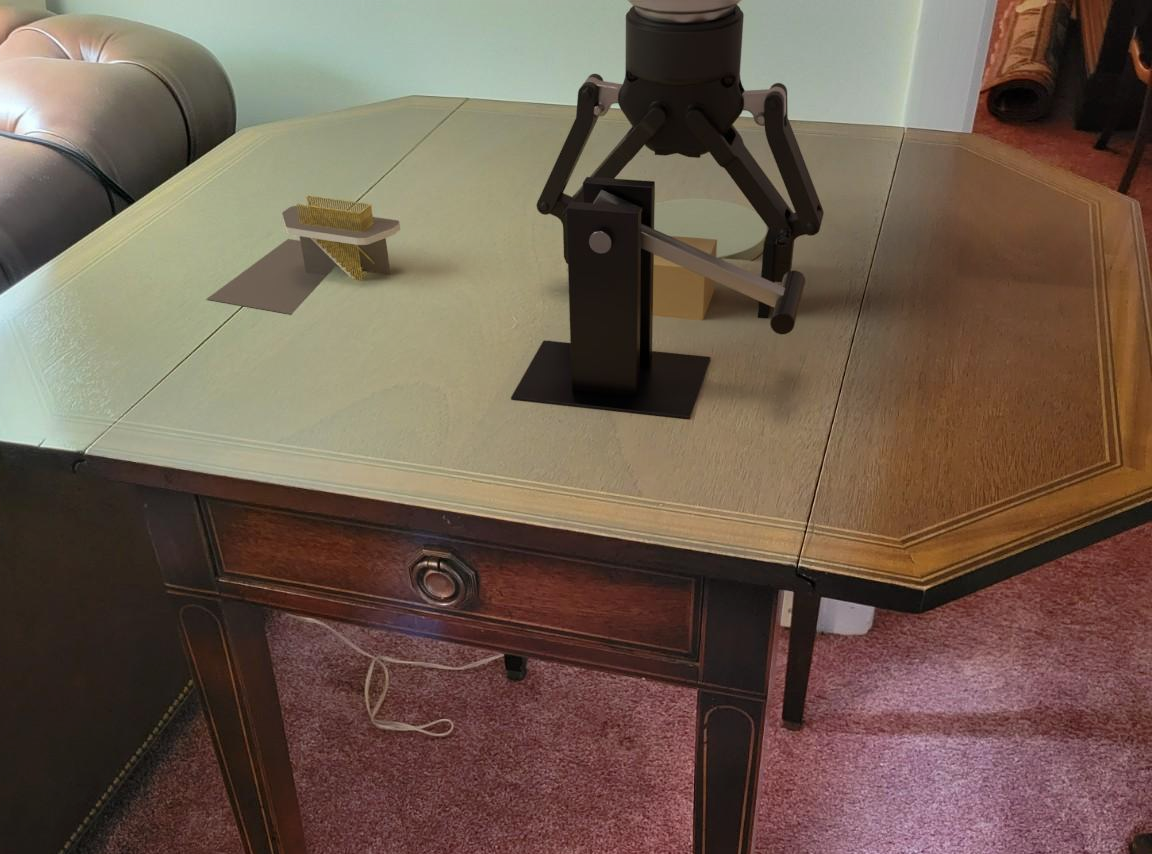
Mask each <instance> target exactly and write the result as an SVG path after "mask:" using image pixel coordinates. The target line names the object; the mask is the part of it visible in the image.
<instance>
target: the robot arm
mask: <svg viewBox="0 0 1152 854" xmlns="http://www.w3.org/2000/svg"><path fill="white" fill-rule="evenodd" d="M627 1H628V3H629V4H631V7H630V8H629V10H628V11H627V13H626V15H625V67H624V68H625V74H624V78H623V79H624V80H623V82H622V83H617V82H612V81H605V80H604V78H603V77H602V76H601V74H598V73H592V74H589V75H588V77H587V78H586V79H585V81H584V82H583V83H582V85H581V86H580V87H579V89H578V92H577V100H576V101H577V103H576V115H575V119H574V121H573V124H572V126H571V127H570V129H569V132H568V134H567V136H566V139H565V141H564V143H563V145H562V147H561V150H560V152H559V154H558V156H557V159H556V161H555V163H554V165H553V167H552V169H551V172H550V173H549V176H548V178H547V180H546V183H545V185H544V187H543V189H542V191H541V193H540V196H539V197H538V200H537V203H536V209H537V211H538V212H539V214H541V215H543V216H544V215H545V216H547V215H550V216H551V215H552V216H554V217H555V218H557V219H559V220H560V222H561V225H562V236H563V238H562V243H563V258H564V261H565V263H566V265H568V249H567V217H566V208H567V206H568V205H569V203H570V202H581V203H583V184H582V185H581V187H579V189H578V190H577V191H576V192H575V193H574V194H573V195H572V196H571V195H569V194H567V193H564V192H565V190H566V188H567V185H568V184H569V181H570V179H571V177H572V175H573V173H574V171H575V168H576V166H577V164H578V162H579V160H580V158H581V156H582V153H583V152H584V150H585V148H586V145H587V143H588V141H589V139H590V137H591V135H592V132H593V131H594V129H595V126H596V124H597V122H598V119H599V117H604V116H606V115H607V114H608V112H609V110H610V109H611V107H612V106H613V105H614V104H618V107H619V108H620V110H621V111H622V113H623V115H624V116H625V118H626V119H627V121H628V122H629V124H630V125H631V127H630V128H629V130H628V131H627V132H626V133H625V135H624V136H623V137H622V138H621V140H619V142H618V143H617V145H615V147H614V148H613V149H612V150H611V151H610V153H608V155H607V156H606V157H605V158H604V159H603V161H602V162H601V163H600V164H599V165H598V167H597V168H596V169H595V170H594V171H593V172H592V174H591V175H590V176H589V177H597V178H612V179H616V177H617V176H618V175H619V174H620V173H621V172H622V171H623V169H624V168H625V167H626V166H627V165H628V164H629V162H630V161H632V160H633V159H634V157H635V156H636V155H637V154H638V153H639V152H640V151H641V150H642V148H643V147H644V146H645V147H646V148H647V149H648V150H650V151H652V152H654V156H666V157H667V156H671V155H675V154H676V155H677V154H679V155H681V156H683V157H687V158H697V159H698V158H699V159H700V158H701V156H702V155H705V154H706V155H707V154H708V153H709V154H710V155H711V157H712V158H713V159H714V161H715V162H716V163H717V165H718V166H719V167H720V168H723V169H724V170H725V171H726V172H727V174H728V175H729V176H730V179H732V180H733V182H734V184H735V185H736V186H737V187H738V189H739V190H740V191H741V193H742V194H743V195H744V197H745V198H746V200H747V201H748V202H749V203H750V205H751V207H752V208H753V210H754V211H755V212H756V213H757V214H759V216H760V217H761V218H762V220H763V221H764V223H765V224H766V225H767V228H768V231H767V235H766V238H765V241H764V247H763V252H762V260H761V270H760V271H761V272H760V273H761V275H760V277H762V278H764V279H766V280H769V281H771V282H773V283H775V284H776V283H782V280H783V277H784V275H785V274H786V273H787V272H789V271H792V267H793V259H794V248H795V240H796V239H797V238H799V237H801V236H805V235H806V236H811V237H812V236H816V235H817V234H818V233H819V232H820V230H821V225H822V222H823V218H824V214H825V213H824V212H825V211H824V209H823V206H822V203H821V201H820V198H819V195H818V193H817V191H816V188H815V185H814V183H813V180H812V177H811V174H810V172H809V170H808V167H807V164H806V161H805V159H804V156H803V153H802V151H801V148H800V145H799V143H798V141H797V138H796V135H795V132H794V130H793V128H792V124H791V122H790V120H789V118H788V117H789V116H788V115H789V114H788V112H789V111H788V89H787V86H786V85H785V84H783V83H781V82H775V83H773V84H772V85H771V86H770V88H769V89H768V88H767V89H751V90H748V89H747V90H746V89H745V88H744V86H743V84H742V79H741V65H742V64H741V63H742V47H743V33H744V32H743V31H744V19H745V15H744V12H743V10H742V9H741V7H740V6H739V5H738V4H739V3H740V2H741V1H742V0H627ZM743 111H747V112H749V113H750V114H751V115H752V117H753V120H754V122H755V124H757V125H758V126H760V127H764V132H765V138H766V141H767V143H768V146H769V149H770V151H771V153H772V157H773V159H774V161H775V164H776V167H777V169H778V171H779V174H780V177H781V179H782V181H783V184H784V187H785V188H786V192H787V194H788V196H789V199H790V201H791V204H792V207H793V209H794V211H793V210H792V209H791V207H790V206H789V205H788V203H787V202H786V200H785V199H784V198H783V196H782V195H781V194H780V193H779V190H777V187H776V186H775V185H774V183H772V181H771V180H770V178H769V177H768V175H767V174H766V173H765V172H764V170H763V169H762V167H761V166H760V164H758V162H757V160H756V159H755V157H754V156H753V155H752V153H751V152H750V150H749V149H748V147H746V145H745V143H744V139H743V137H742V135H741V134H740V132H739V131H738V130H737V129H736V127H735V126H734V124H735V122H736V121H737V120H738V119H739V117H740V116H741V115H742V113H743ZM771 311H772V307H771V306H769V305H767V304H765V303H762V302H760V301H758V307H757V319H769V318H770V314H771Z"/></svg>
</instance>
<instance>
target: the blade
mask: <svg viewBox="0 0 1152 854" xmlns="http://www.w3.org/2000/svg"><path fill="white" fill-rule="evenodd" d="M594 203H595V204H609V205H623V206H637V205H635V204H633V203H630V202H628V201H626V200H624V199H621V198H619V197H617V196H615V195H612V194H610V193H608V192H606V191H603V190H601V191H600V193H599V194H598V196H597V198H596V199H595V201H594ZM637 207H639V206H637ZM641 211H642V208H641ZM641 248H642V249H644V250H646V251H648V252H651V253H653V254H655V255H657V256H660V257H662V258H664V259H666V260H668V261H671V262H673V263H675V264H677V265H680V266H682V267H684V268H686V269H689V270H691V271H693V272H695V273H698V274H700V275H702V276H704V277H707V278H709V279H711V280H713V281H715V283H718V284H720V285H722V286H725V287H726V288H729V289H731V290H734V291H736V292H738V293H740V294H742V295H745V296H747V297H750V298H751V299H754V300H755V301H758V302H759V301H760V302H762V303H765V304H767V305H769V306H771V308H773V310H772V313H771V314H772V315H771V318H770V322H769V325H770V328H771V330H772V331H773V332H774V333H776V334H778V335H787V334H789V333H790V332H792V331H793V329H794V328H795V325H796V320H797V317H798V313H799V309H800V304H801V301H802V297H803V293H804V290H805V287H806V286H805V285H806V277H805V275H804V274H803V273H802V272H801V271H799V270H794V269H793V270H792V269H791V271H789V272H787V273H786V274H785V275H784V277H783V280H782V282H780V283H781V284H777V283H776V282H775V283H773V282H771V281H769V280H766V279H764V278H762V277H761V275H760V276H759V275H758V274H755V273H753V272H750V271H748V270H747V269H744V268H742V267H740V266H737V265H735V264H733V263H731V262H729V261H726V260H724V259H719V258H717V257H715V256H713V255H711V254H708V253H706V252H704V251H702V250H699V249H697V248H695V247H693V246H690V245H688V244H686V243H684V242H681V241H679V240H677V239H675V238H673V237H670V236H668V235H666V234H664V233H661V232H659V231H657V230H655V229H652V228H650V227H648V226H646V225H643V224H641Z"/></svg>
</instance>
